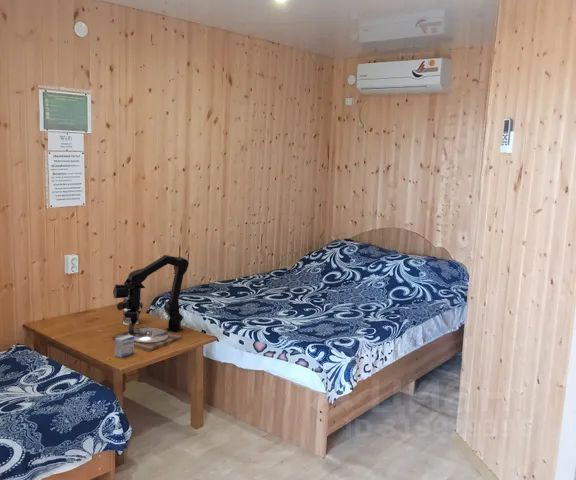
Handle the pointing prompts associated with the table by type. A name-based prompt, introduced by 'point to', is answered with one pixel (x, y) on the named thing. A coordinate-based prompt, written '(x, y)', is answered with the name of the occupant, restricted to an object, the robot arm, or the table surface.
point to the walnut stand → (153, 346)
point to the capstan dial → (147, 334)
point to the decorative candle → (125, 320)
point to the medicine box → (124, 346)
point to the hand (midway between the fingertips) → (133, 325)
